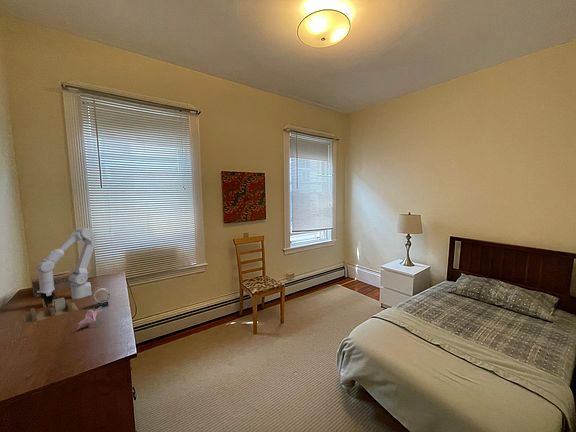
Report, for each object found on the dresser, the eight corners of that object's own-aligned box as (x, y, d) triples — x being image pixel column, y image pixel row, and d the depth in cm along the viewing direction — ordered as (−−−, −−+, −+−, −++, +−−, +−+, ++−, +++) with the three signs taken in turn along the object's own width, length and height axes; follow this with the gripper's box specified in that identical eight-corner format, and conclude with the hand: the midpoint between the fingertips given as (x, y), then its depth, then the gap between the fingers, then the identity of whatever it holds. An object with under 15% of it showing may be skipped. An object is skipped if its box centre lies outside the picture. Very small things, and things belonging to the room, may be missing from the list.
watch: (112, 306, 137) (111, 288, 136) (94, 311, 131) (93, 291, 130) (111, 303, 141) (110, 285, 140) (94, 307, 135) (92, 289, 135)
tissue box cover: (82, 281, 180) (81, 268, 179) (86, 285, 171) (85, 272, 170) (32, 291, 161) (31, 277, 160) (34, 297, 151) (32, 282, 151)
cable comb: (73, 304, 140) (73, 297, 140) (78, 311, 132) (78, 304, 131) (23, 317, 125) (22, 310, 125) (25, 326, 116) (24, 318, 116)
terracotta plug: (53, 305, 139) (52, 295, 139) (54, 307, 137) (53, 296, 136) (43, 307, 136) (42, 297, 136) (44, 309, 134) (43, 299, 133)
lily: (108, 319, 124) (97, 304, 123) (114, 317, 117) (103, 301, 116) (81, 337, 114) (69, 321, 114) (86, 336, 107) (73, 319, 106)
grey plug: (64, 307, 134) (63, 297, 133) (65, 309, 131) (64, 299, 131) (54, 310, 131) (53, 299, 130) (55, 312, 128) (54, 301, 128)
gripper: (35, 281, 137) (37, 303, 138) (37, 286, 128) (39, 311, 129) (52, 277, 142) (54, 299, 143) (55, 283, 133) (57, 306, 134)
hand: (48, 304), depth 136 cm, fingers closed on terracotta plug, 4 cm apart
